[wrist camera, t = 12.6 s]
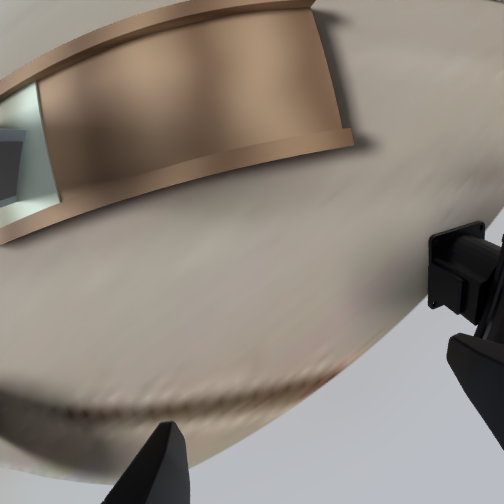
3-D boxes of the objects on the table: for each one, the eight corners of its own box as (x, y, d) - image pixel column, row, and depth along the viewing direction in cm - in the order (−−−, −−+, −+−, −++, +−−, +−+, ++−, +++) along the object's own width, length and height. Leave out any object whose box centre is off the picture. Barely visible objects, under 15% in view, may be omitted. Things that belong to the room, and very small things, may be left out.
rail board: (298, 6, 16) (312, -16, 13) (333, 145, 19) (355, 145, 16) (-36, 127, 15) (-63, 127, 12) (-9, 246, 18) (-34, 260, 15)
